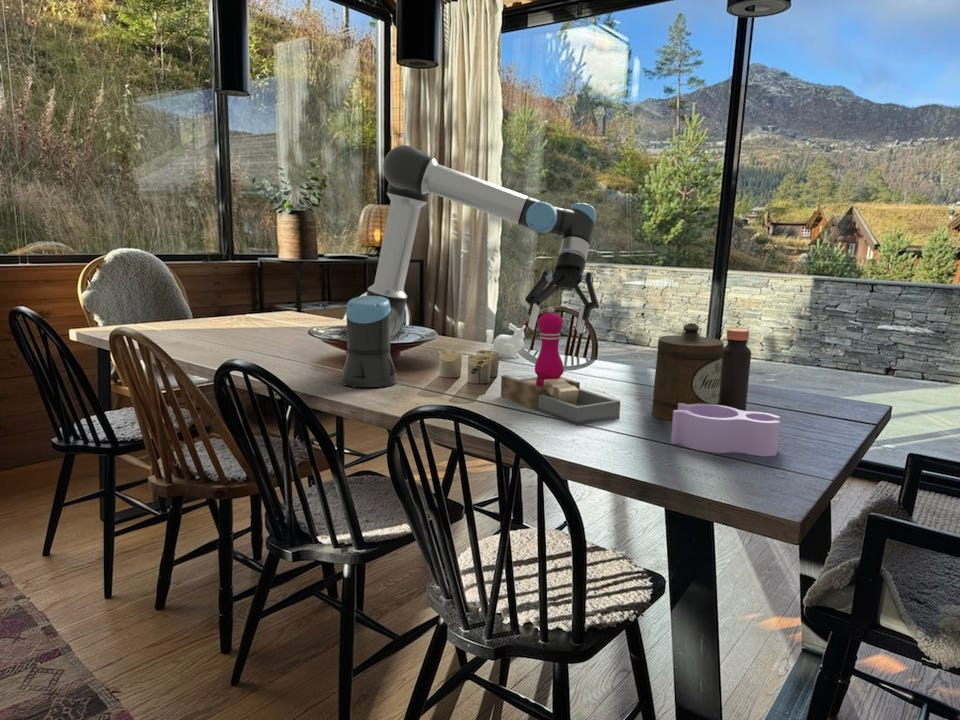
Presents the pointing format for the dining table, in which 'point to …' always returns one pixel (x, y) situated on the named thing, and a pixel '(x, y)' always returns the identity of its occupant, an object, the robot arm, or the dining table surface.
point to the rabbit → (509, 343)
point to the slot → (526, 390)
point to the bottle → (735, 370)
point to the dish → (581, 408)
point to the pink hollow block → (725, 429)
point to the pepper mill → (549, 348)
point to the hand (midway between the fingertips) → (554, 329)
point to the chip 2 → (567, 394)
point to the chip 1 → (553, 385)
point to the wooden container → (686, 371)
